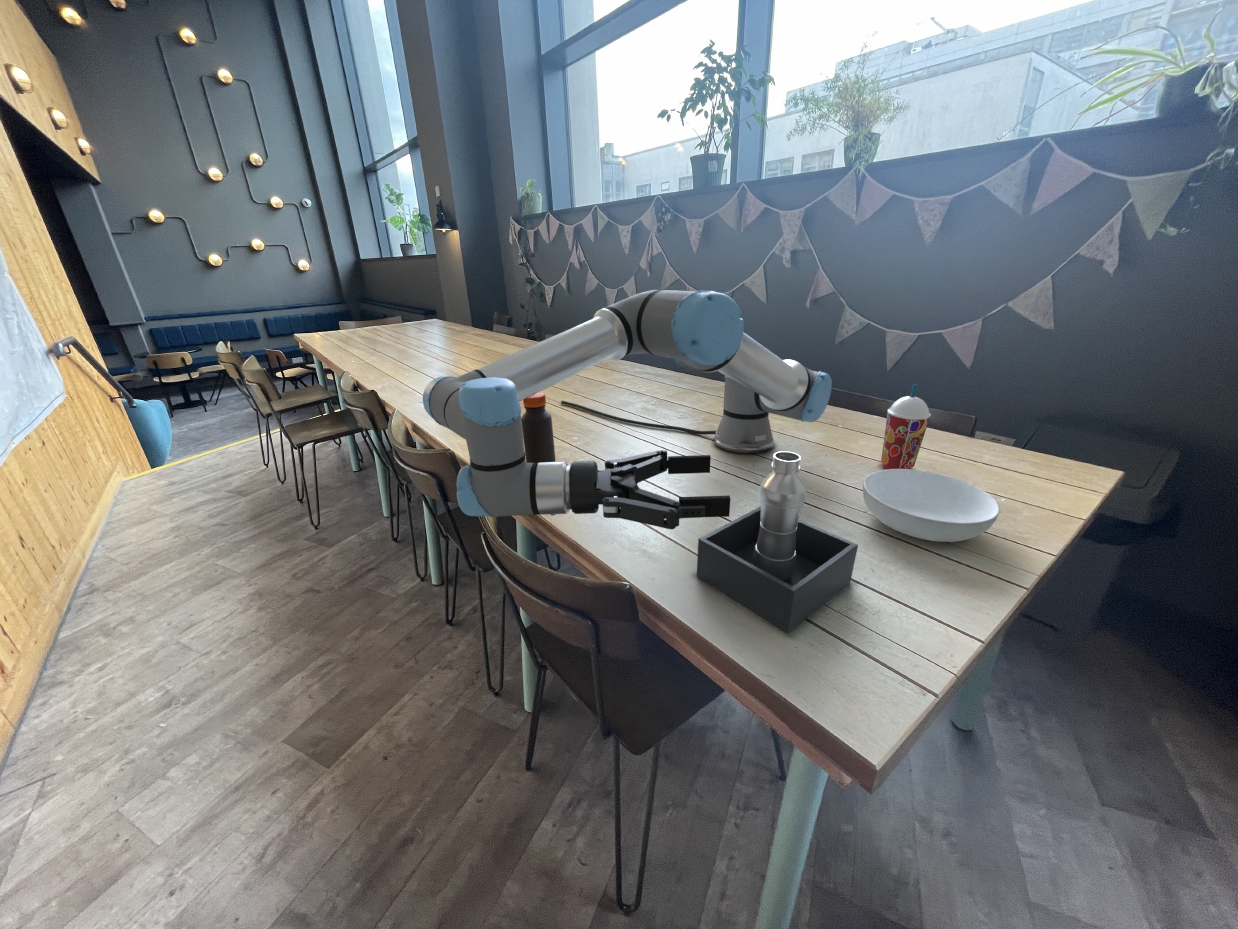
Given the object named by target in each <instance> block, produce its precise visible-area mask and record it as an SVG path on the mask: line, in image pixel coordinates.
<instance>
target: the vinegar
mask: <svg viewBox="0 0 1238 929" xmlns="http://www.w3.org/2000/svg"><path fill="white" fill-rule="evenodd" d="M522 402H523V408H524V409H525V412H524V413H523V414H522V415H521V422H522V432H523V442H524V451H525V459H526V463H540V462H557V460H556V452H555V440H554V438H555V437H554V429H553V421H552V420H553V419H552V418H553V417H552V414H550V412H548V411H547V410H546V407H547V405H546V404H547V400H546V394H545V393H544V392H541V391H540V392H538V393H536V394H534V395H532V396H530V397H528V398H526V399H524V400H522Z"/></svg>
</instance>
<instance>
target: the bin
mask: <svg viewBox="0 0 1238 929" xmlns="http://www.w3.org/2000/svg"><path fill="white" fill-rule="evenodd" d="M760 516H761V505H760V506H758V507H756V508H754V509H753V510H751V511H749V512H746V513H745V514H743V515H741V516H739V517H738V518H735V519H733V520H732V521H730V522H727V523H726V524H724V525H722V526H720V527H718V528H716V529H714V530H712V531H710V532H709V533H706V534H704V535H703V536H701V537H699V538H697V559H696V561H697V562H696V577H698V578H700V580H702V581H704V582H706V583H707V584H709V585H710V586H712V587H714V588H715V589H716V590H718V591H720V592H721V593H723V594H725V595H726V596H728V597H729V598H731V599H732V600H734V601H736V602H737V603H739V604H741V605H742V606H744V607H745V608H747V609H748V610H750V611H752V612H753V613H755V614H756V615H757V616H759V617H761V618H763V619H764V620H765V621H767V622H769V623H770V624H772V625H773V626H776V628H779V629H780V630H782V631H783V632H784V633H786V634H790V633H791V632H792V631H793V630H794V629H795V628H797V627H798V626H800V625H801V624H802V623H803V622H804V621H805V620H807V619H808V618H809V617H810V616H812V615H813V614H814V613H816V611H818V610H819V609H820V608H822V607H823V606H824V605H825V604H827V603H828V602H829V601H830V600H831V599H833V598H834V597H835V596H836V595H837V594H839V593H840V592H841V591H843V589H845V588H846V587H848V585H850V584H851V581H852V576H853V571H854V567H855V562H856V557H857V552H858V547H859V543H858V544H857V543H855V542H853V541H851V540H848V539H846V538H844V537H841V536H839V535H836V534H834V533H833V532H832V533H831V532H829V531H827V530H825V529H823V528H820V527H818V526H815V525H813V524H810V523H808V522H806V521H803V520H801V519H799V521H798V526H797V531H796V547H795V551H796V567H795V570H794V573H793V574H792V576H791V577H789V578H788V579H787V580H785V581H781V580H779V579H778V578H776V577H774V576H772V575H770V574H768V573H767V572H765V571H763V570H761V569H759V568H757V567H756V566H754V565H753V559H752V557H753V553H754V549H755V546H756V544H757V539H758V535H759V530H760Z"/></svg>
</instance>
